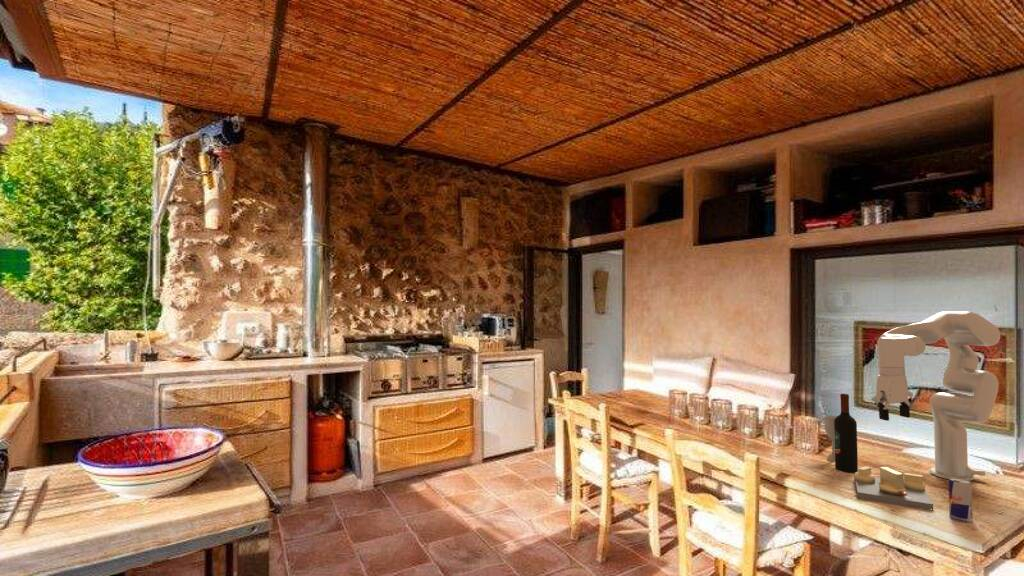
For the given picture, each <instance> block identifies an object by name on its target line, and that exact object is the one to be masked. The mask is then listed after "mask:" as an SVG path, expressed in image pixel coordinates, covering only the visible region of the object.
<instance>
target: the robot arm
mask: <svg viewBox="0 0 1024 576" xmlns="http://www.w3.org/2000/svg"><path fill="white" fill-rule="evenodd" d="M942 339H944V341H945V344H946V346H947V348H948V351H949V360H948V362H947V366H946V368H945V371H944V374H943V378H942V385H943V387H944V388H945V389H946V390H947V391H950V392H946V391H945V392H936V393H934V394H933V395H931V397H930V399H929V406H930V411H931V414H932V419H933V429H934V430H933V438H934V440H933V441H934V467H931V468H930V469H929V471H930V474H932V475H933V476H936V477H939V478H942V479H946V480H949V478H951V477H955V478H962V479H966V480H969V481H970V482H971V481H973V480H974V479H975V475H976V476H980V477H982V476H983V477H985V476H986V471H985V470H982V469H979V468H971V467H970V465H969V462H968V461H969V459H968V432H967V428H966V427H965V425H964V424H963V422H969V423H974V424H985V422H987V421H988V420H989V419H990V417H991V415H992V412H993V408H994V405H995V402H996V399H997V395H998V393H999V392H998V391H999V380H998V377H997V376H996V375H995V374H994V373H992V372H990V371H987V370H981V369H978V366H979V361H980V360H979V357H978V356H977V354H976V352H975V351H974V350H973V349H972V348H971V346H976V347H977V346H978V347H981V346H982V347H993V346H995V345H997V344H998V343H999V342H1000V340H1001V332H1000V330H999V328H998V327H997V326H996V325H995V324H993V322H991V321H989V320H988V319H987V318H985V317H983V316H982V315H979V314H978V313H976V312H974V311H973V312H972V311H955V310H953V311H950V310H949V311H947V310H946V311H941V312H937V313H936V314H934V315H932V316H929V317H928V318H926V319H925V320H922V321H921V322H916V323H911V324H907V325H902V326H898V327H895V328H892V329H890V330H888V331H886V332H884V333H883V334H881V335H880V336H879V337H878V339H877V342H876V346H877V355H878V370H879V371H878V372H879V374H878V375H877V378H876V379H877V380H876V390H875V392H876V395H874V396H873V398H872V399H873V401H874V404H875V405H876V408H877V409H878V414H879V415H878V416H879V417H878V419H879V420H881V421H886V422H889V421H890V412H889V411H890V410H889V409H888V407H889V406H890V405H893V404H899V415H900V417H904V418H911V412H910V411H911V409H910V407H911V405H912V404H911V403H912V401H913V399H912V398H913V397H914V393H913V392H911V391H909V385H908V384H909V383H908V380H907V377H906V366H905V357H917V356H920V355H922V354H923V353H924V352H925V350H926V344H934V343H937V342H938V341H940V340H942ZM952 392H954V393H952ZM960 393H961V394H960ZM971 395H973V396H971ZM962 421H963V422H962Z"/></svg>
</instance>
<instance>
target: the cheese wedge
mask: <svg viewBox="0 0 1024 576" xmlns="http://www.w3.org/2000/svg"><path fill="white" fill-rule="evenodd" d="M879 474H880V475H879V478H880V482H879V490H881V491H882V492H885V493H888V494H893V495H904V496H907V493H905V487H904V480H903V479H904V473H901V472H900V471H898V470H894V469H893V468H890V467H888V466H881V467H879Z"/></svg>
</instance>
